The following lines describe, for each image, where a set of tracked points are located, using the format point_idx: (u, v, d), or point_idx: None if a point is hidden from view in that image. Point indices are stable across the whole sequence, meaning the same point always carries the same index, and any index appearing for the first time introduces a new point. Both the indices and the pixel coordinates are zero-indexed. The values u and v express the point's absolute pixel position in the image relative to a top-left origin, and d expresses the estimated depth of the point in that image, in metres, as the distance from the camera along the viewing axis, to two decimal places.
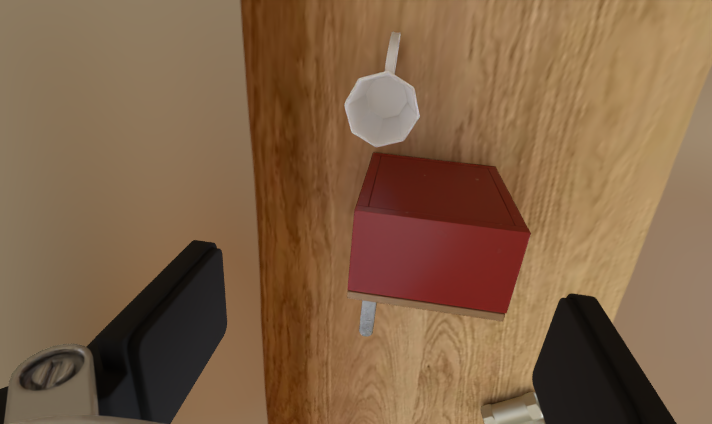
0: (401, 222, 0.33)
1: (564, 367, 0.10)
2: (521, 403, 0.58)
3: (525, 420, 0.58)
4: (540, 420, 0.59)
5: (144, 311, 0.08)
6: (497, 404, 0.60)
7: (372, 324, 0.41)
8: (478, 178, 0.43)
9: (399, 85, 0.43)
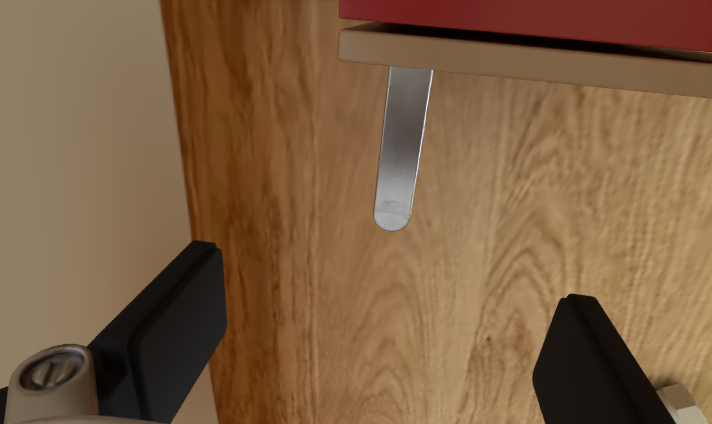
0: None
1: (564, 367, 0.10)
2: None
3: None
4: None
5: (144, 311, 0.08)
6: None
7: (411, 193, 0.15)
8: None
9: None
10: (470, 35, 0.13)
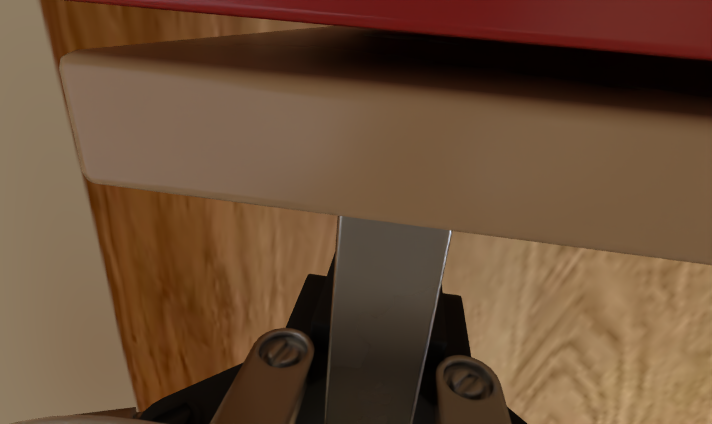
0: None
1: None
2: None
3: None
4: None
5: None
6: None
7: (405, 422, 0.06)
8: None
9: None
10: (563, 59, 0.05)
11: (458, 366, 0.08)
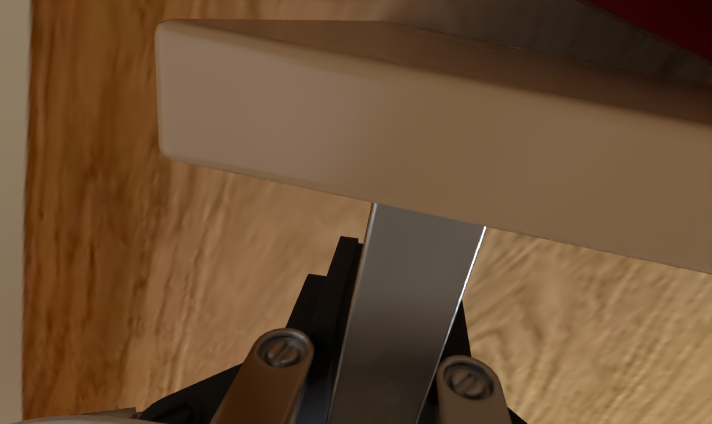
0: None
1: None
2: None
3: None
4: None
5: (337, 299, 0.09)
6: None
7: (410, 423, 0.06)
8: None
9: None
10: (604, 76, 0.05)
11: (458, 366, 0.08)
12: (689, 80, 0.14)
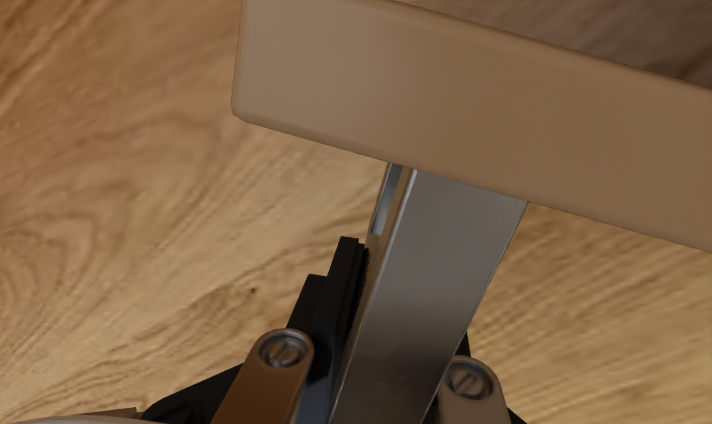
0: None
1: None
2: None
3: None
4: None
5: (337, 299, 0.09)
6: None
7: (417, 418, 0.06)
8: None
9: None
10: None
11: (458, 366, 0.08)
12: None
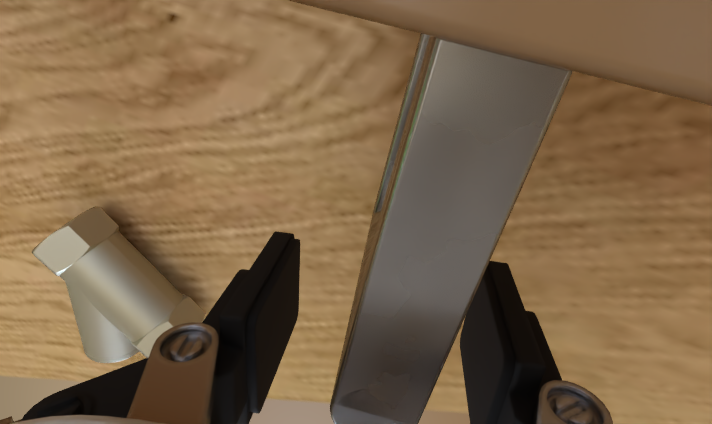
0: None
1: (476, 325, 0.11)
2: (166, 304, 0.21)
3: (123, 328, 0.21)
4: (133, 349, 0.23)
5: (253, 294, 0.09)
6: (128, 246, 0.21)
7: (428, 383, 0.06)
8: None
9: None
10: None
11: (558, 392, 0.08)
12: None
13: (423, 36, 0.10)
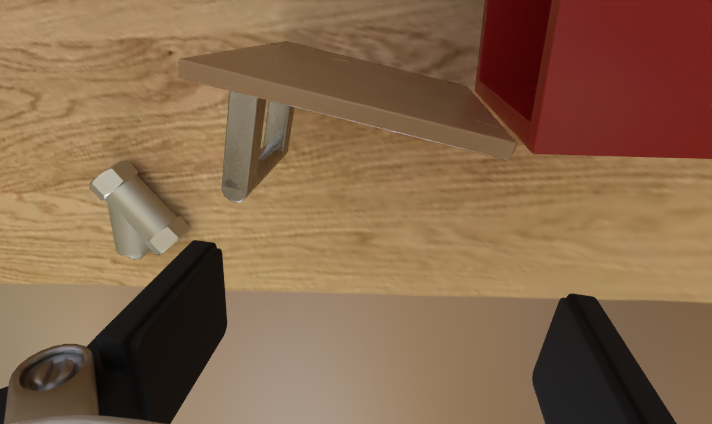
0: None
1: (564, 367, 0.10)
2: (166, 218, 0.36)
3: (141, 231, 0.35)
4: (146, 249, 0.37)
5: (144, 311, 0.08)
6: (144, 184, 0.36)
7: (247, 175, 0.21)
8: None
9: None
10: (291, 71, 0.20)
11: None
12: (431, 79, 0.29)
13: None
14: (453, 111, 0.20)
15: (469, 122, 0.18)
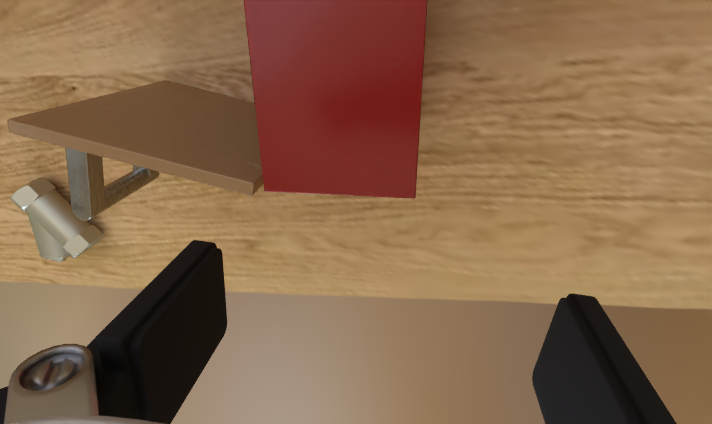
0: None
1: (564, 367, 0.10)
2: (79, 226, 0.42)
3: (56, 237, 0.41)
4: (65, 253, 0.44)
5: (144, 311, 0.08)
6: (60, 197, 0.42)
7: (88, 200, 0.27)
8: None
9: None
10: (114, 121, 0.25)
11: None
12: None
13: None
14: (238, 153, 0.25)
15: (235, 164, 0.24)
